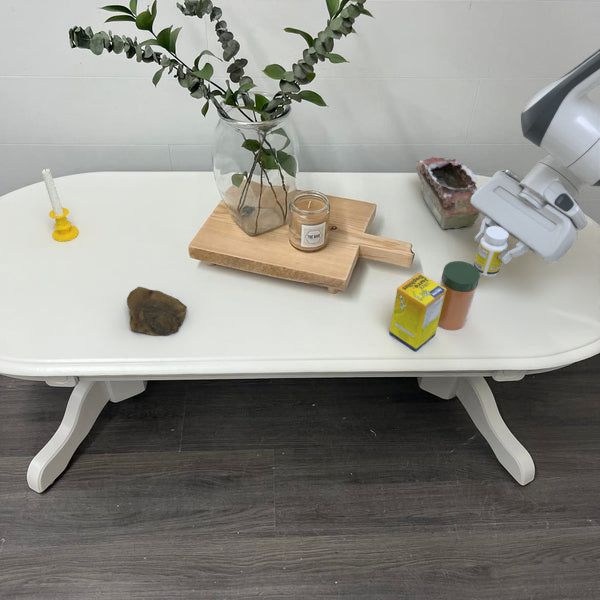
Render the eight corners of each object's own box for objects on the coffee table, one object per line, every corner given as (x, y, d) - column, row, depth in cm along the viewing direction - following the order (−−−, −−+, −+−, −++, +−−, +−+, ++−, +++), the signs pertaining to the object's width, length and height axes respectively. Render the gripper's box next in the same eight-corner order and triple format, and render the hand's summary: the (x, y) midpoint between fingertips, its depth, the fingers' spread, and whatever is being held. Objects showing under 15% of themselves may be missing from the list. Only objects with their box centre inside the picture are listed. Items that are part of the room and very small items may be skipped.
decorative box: (417, 234, 123) (425, 195, 116) (397, 185, 137) (403, 148, 131) (477, 232, 124) (488, 193, 117) (451, 184, 138) (460, 147, 132)
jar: (470, 328, 102) (485, 284, 95) (438, 332, 101) (450, 287, 94) (458, 305, 106) (471, 261, 99) (427, 308, 105) (438, 265, 98)
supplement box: (408, 318, 103) (418, 271, 96) (435, 335, 100) (448, 288, 93) (387, 334, 100) (396, 287, 93) (415, 352, 97) (426, 305, 90)
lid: (483, 289, 96) (485, 282, 95) (449, 293, 95) (451, 285, 94) (469, 267, 100) (471, 259, 99) (436, 270, 99) (438, 262, 98)
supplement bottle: (501, 265, 108) (513, 229, 102) (496, 280, 105) (509, 243, 99) (475, 258, 109) (486, 221, 103) (470, 272, 106) (481, 235, 100)
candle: (58, 244, 117) (36, 177, 106) (48, 232, 120) (26, 166, 109) (82, 235, 119) (63, 169, 109) (72, 224, 122) (53, 158, 112)
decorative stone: (193, 303, 105) (191, 289, 103) (176, 340, 98) (174, 325, 96) (138, 296, 106) (135, 282, 104) (118, 331, 99) (114, 317, 97)
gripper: (497, 157, 105) (445, 215, 108) (586, 213, 92) (524, 277, 95) (509, 173, 110) (458, 228, 113) (595, 229, 97) (535, 289, 100)
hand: (489, 251), depth 104 cm, fingers closed on supplement bottle, 5 cm apart
